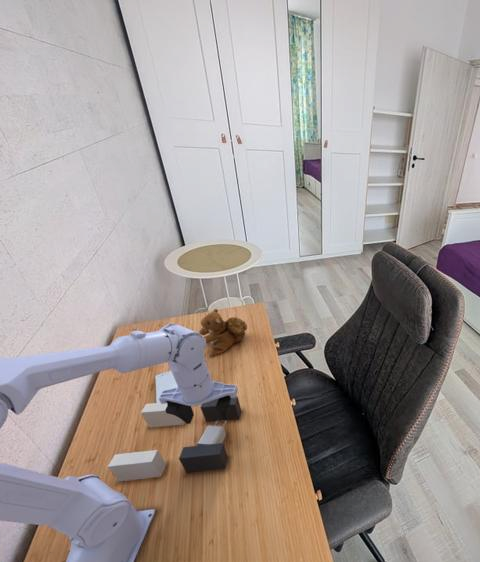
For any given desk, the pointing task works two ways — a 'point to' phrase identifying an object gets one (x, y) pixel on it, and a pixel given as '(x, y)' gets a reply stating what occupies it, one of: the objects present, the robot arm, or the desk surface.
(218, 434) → the usb wall charger
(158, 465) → the white cases
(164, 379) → the hard drive
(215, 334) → the stuffed squirrel
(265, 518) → the desk surface
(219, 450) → the grey cases
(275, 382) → the desk surface
